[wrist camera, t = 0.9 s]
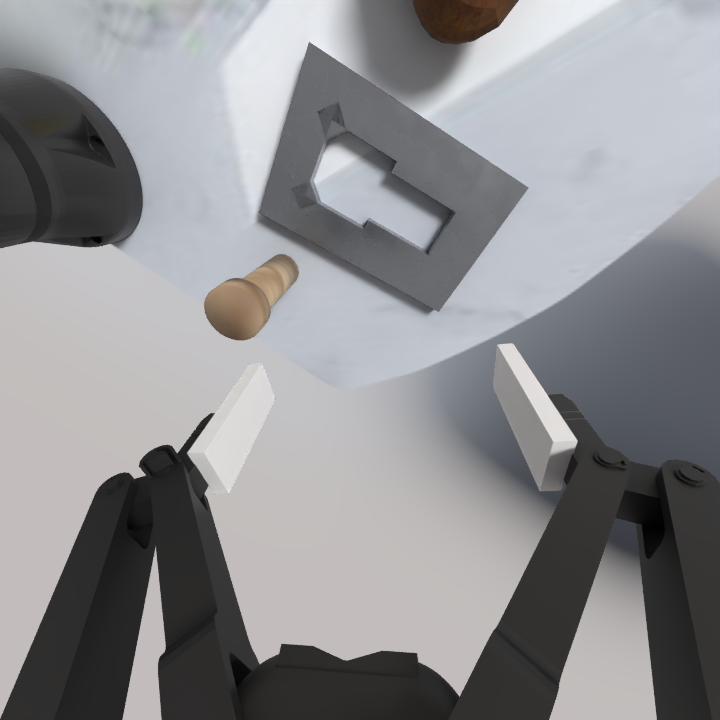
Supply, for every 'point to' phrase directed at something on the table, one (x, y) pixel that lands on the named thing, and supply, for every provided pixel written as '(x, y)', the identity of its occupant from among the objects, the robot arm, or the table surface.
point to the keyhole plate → (414, 165)
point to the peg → (249, 298)
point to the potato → (461, 18)
